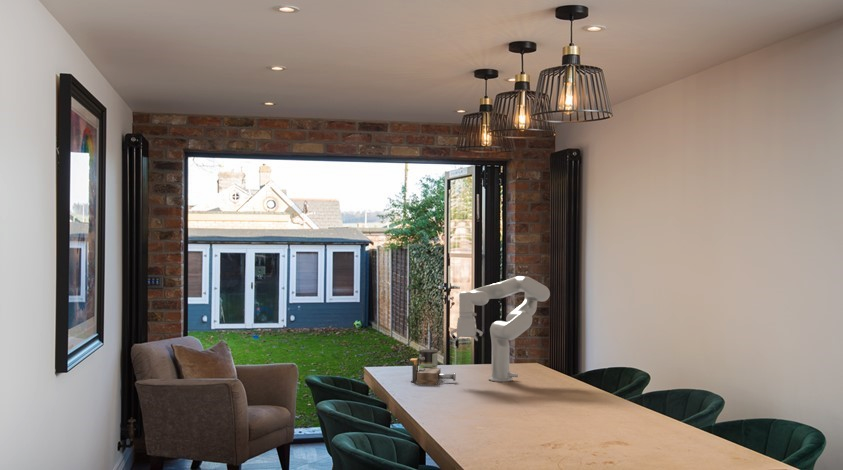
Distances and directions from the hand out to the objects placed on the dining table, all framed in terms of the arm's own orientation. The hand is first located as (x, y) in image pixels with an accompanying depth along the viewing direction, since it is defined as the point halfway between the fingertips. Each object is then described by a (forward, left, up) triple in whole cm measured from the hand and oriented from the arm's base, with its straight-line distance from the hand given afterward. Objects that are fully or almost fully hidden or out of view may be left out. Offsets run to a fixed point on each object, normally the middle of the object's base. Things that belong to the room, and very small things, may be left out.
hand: (466, 348), depth 415 cm
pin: (+12, 0, -17) cm, 21 cm away
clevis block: (+22, 0, -18) cm, 28 cm away
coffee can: (+23, -19, -18) cm, 35 cm away
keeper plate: (+28, 0, -12) cm, 31 cm away
